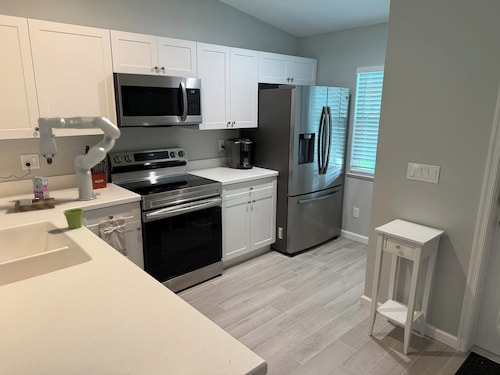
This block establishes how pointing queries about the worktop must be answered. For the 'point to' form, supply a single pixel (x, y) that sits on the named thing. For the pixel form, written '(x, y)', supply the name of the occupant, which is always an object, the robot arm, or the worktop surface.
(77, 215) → the plant pot
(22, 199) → the cream block
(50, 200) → the box
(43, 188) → the candy bar box
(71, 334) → the worktop surface
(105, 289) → the worktop surface
